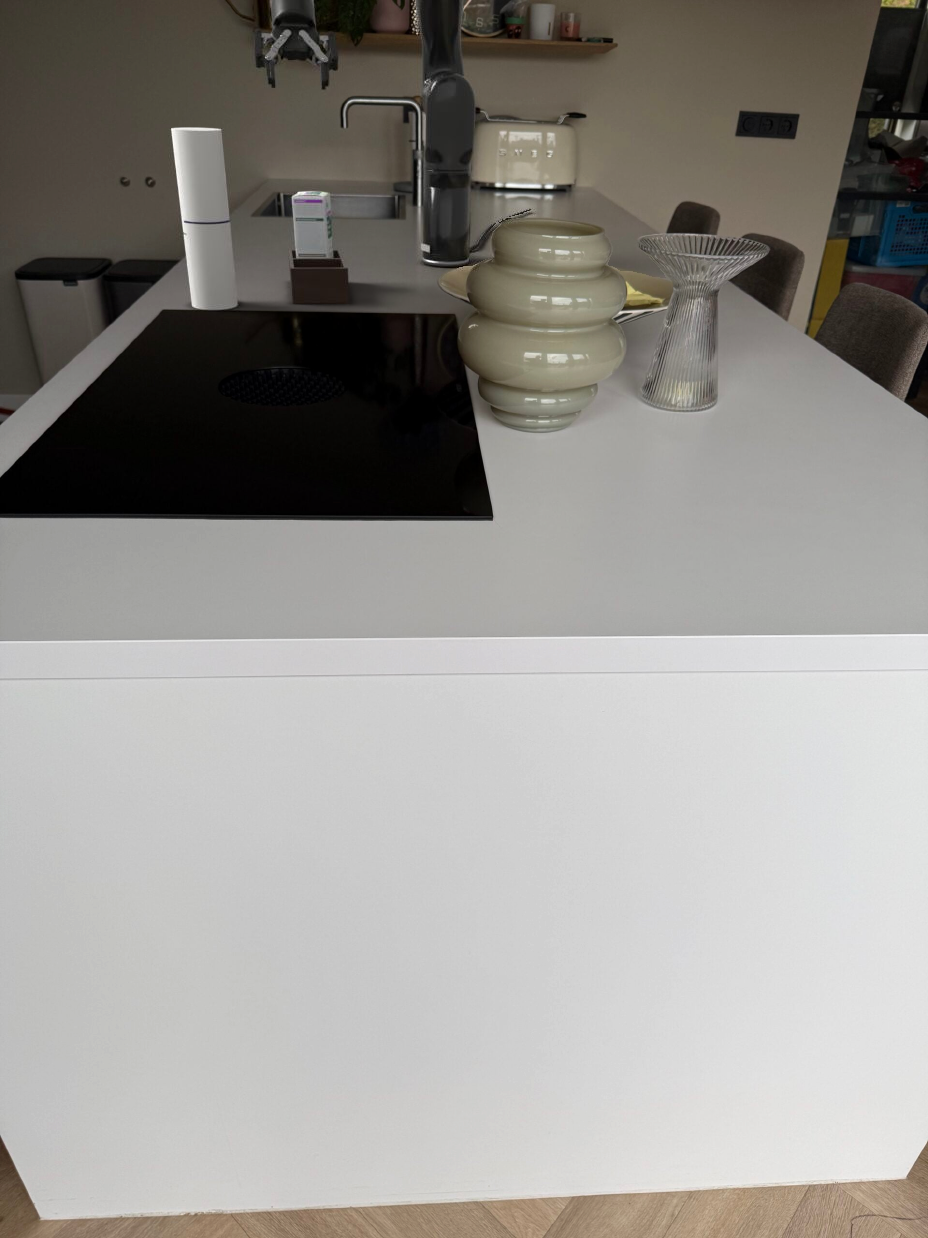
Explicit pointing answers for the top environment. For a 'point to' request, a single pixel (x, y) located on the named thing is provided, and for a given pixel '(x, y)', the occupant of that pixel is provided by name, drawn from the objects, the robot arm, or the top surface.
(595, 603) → the top surface
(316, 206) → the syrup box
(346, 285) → the compartment organizer box
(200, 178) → the cylindrical container
